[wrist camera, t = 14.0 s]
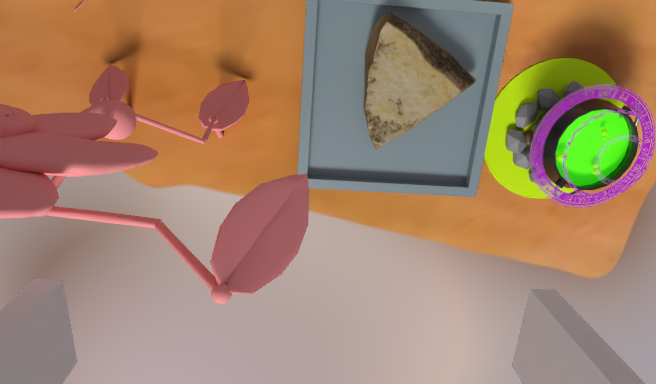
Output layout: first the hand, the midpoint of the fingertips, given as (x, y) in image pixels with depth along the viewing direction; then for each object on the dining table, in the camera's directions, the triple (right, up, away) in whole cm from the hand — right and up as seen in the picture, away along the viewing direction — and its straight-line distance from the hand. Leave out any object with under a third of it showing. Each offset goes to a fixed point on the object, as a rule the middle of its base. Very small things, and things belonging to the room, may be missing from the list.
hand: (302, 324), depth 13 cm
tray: (+8, +13, +32) cm, 36 cm away
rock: (+6, +11, +34) cm, 37 cm away
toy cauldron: (+24, +10, +34) cm, 43 cm away
